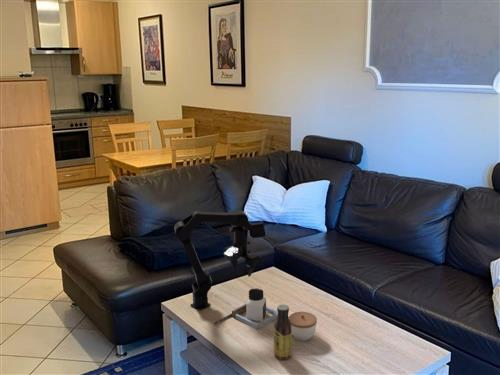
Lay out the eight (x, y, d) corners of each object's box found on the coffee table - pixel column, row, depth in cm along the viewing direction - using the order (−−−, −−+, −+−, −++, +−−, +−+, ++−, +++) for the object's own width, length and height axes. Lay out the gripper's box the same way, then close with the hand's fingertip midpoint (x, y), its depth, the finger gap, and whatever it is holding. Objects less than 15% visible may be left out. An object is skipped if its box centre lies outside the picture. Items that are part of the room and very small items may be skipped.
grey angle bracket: (235, 318, 203) (235, 312, 202) (258, 306, 213) (258, 300, 212) (257, 329, 194) (257, 323, 194) (280, 315, 204) (280, 310, 203)
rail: (214, 323, 199) (214, 322, 199) (253, 303, 215) (253, 302, 214) (215, 324, 199) (215, 322, 198) (254, 304, 214) (254, 302, 214)
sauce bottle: (273, 351, 179) (272, 302, 174) (289, 350, 180) (289, 301, 175) (275, 362, 173) (275, 311, 168) (292, 361, 173) (293, 310, 168)
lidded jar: (319, 331, 192) (319, 309, 189) (313, 346, 182) (313, 323, 180) (292, 327, 195) (292, 306, 193) (285, 341, 186) (285, 319, 183)
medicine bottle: (263, 321, 200) (263, 294, 197) (246, 320, 201) (245, 293, 198) (266, 312, 207) (266, 286, 204) (249, 311, 208) (249, 285, 205)
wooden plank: (232, 315, 204) (231, 310, 204) (255, 303, 214) (255, 299, 213) (233, 316, 204) (233, 311, 203) (256, 304, 213) (256, 299, 213)
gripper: (212, 239, 212) (214, 273, 216) (242, 250, 199) (243, 285, 203) (231, 233, 219) (232, 265, 223) (261, 243, 207) (262, 277, 211)
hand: (241, 273), depth 215 cm, fingers open, 9 cm apart
